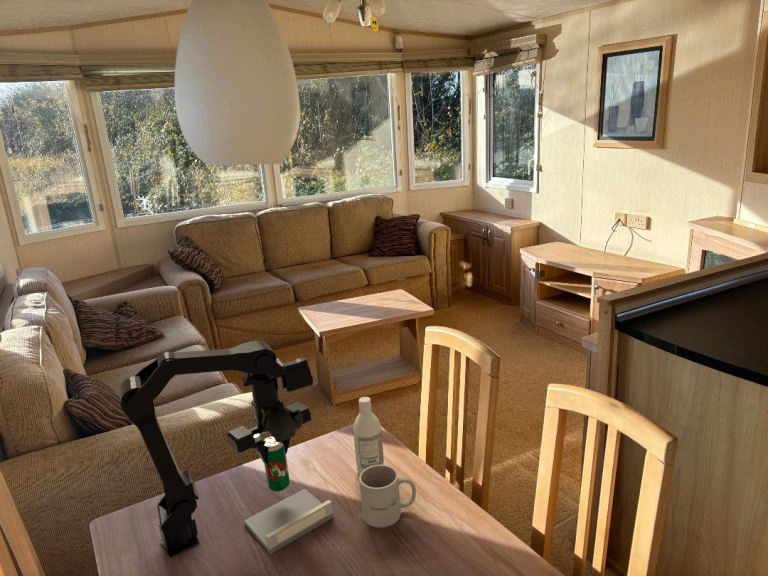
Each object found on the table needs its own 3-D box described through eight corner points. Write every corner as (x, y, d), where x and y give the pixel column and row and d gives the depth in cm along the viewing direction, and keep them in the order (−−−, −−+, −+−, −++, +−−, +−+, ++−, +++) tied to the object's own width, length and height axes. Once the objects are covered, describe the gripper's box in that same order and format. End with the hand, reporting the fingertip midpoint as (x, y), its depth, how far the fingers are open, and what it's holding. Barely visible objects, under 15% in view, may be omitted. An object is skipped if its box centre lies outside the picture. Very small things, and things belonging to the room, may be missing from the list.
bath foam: (389, 470, 140) (384, 400, 134) (366, 481, 137) (359, 409, 131) (375, 458, 146) (369, 389, 140) (352, 467, 142) (345, 398, 136)
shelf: (270, 555, 116) (268, 538, 114) (244, 525, 125) (242, 509, 124) (334, 517, 125) (332, 502, 124) (305, 492, 134) (303, 477, 133)
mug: (361, 528, 121) (357, 489, 118) (364, 501, 130) (360, 465, 127) (417, 526, 121) (414, 487, 118) (416, 500, 129) (414, 463, 126)
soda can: (278, 477, 132) (271, 433, 129) (294, 482, 129) (288, 438, 126) (263, 489, 128) (256, 444, 124) (280, 495, 125) (273, 449, 122)
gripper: (244, 427, 110) (255, 493, 115) (322, 394, 121) (328, 455, 126) (220, 408, 118) (231, 470, 123) (295, 378, 130) (302, 436, 134)
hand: (275, 458), depth 126 cm, fingers closed on soda can, 5 cm apart
